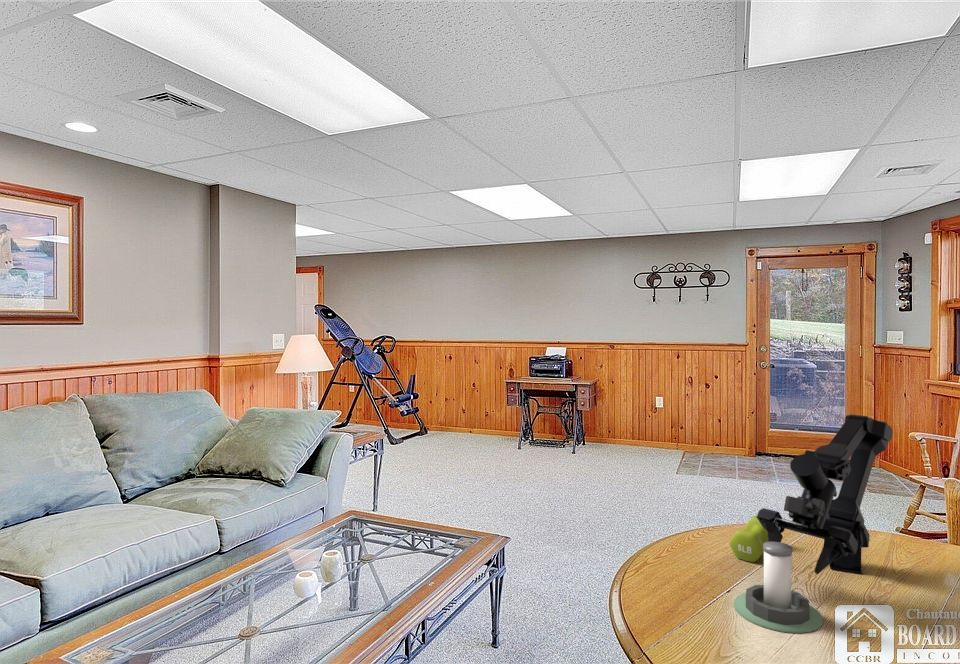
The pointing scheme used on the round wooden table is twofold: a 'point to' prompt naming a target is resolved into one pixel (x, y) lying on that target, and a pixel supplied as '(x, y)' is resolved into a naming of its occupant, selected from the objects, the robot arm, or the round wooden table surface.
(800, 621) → the green round disc
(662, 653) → the round wooden table surface
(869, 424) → the robot arm
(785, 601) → the white gray-capped cylinder
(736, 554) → the dumbbell
